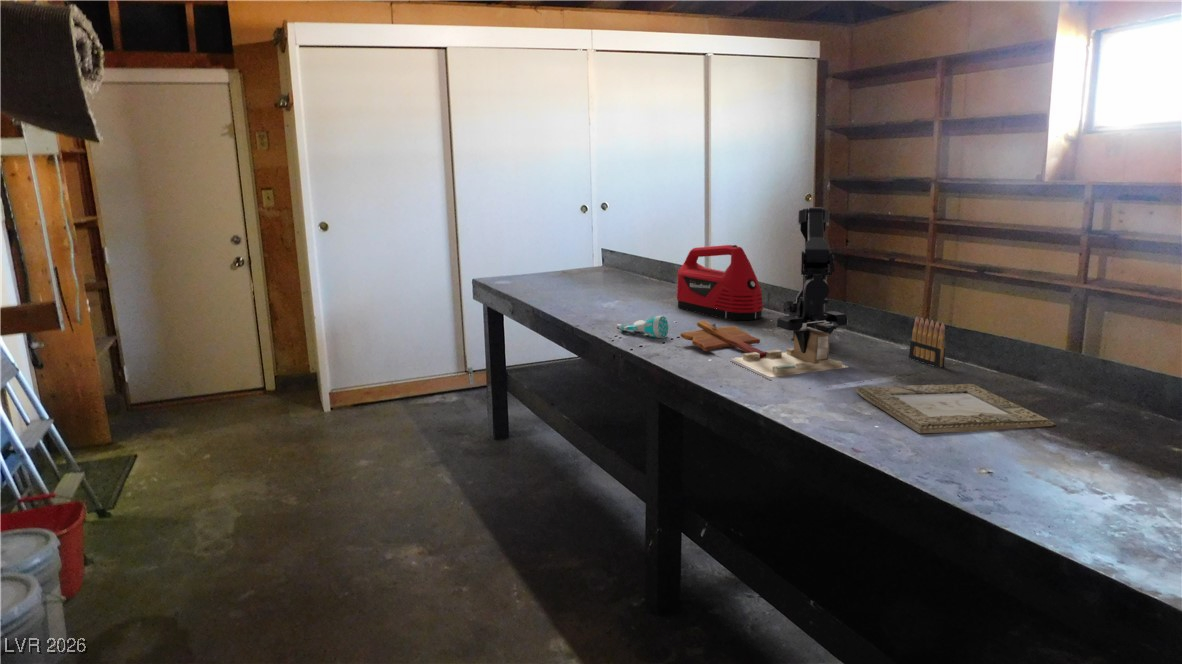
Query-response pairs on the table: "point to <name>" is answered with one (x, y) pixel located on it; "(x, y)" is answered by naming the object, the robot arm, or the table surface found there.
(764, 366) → the birch notch board
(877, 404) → the picture frame
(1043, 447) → the table surface
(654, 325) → the garden hose nozzle
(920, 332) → the ammunition clip
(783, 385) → the table surface
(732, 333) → the sign
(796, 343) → the brown wooden box
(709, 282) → the power tool
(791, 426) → the table surface
